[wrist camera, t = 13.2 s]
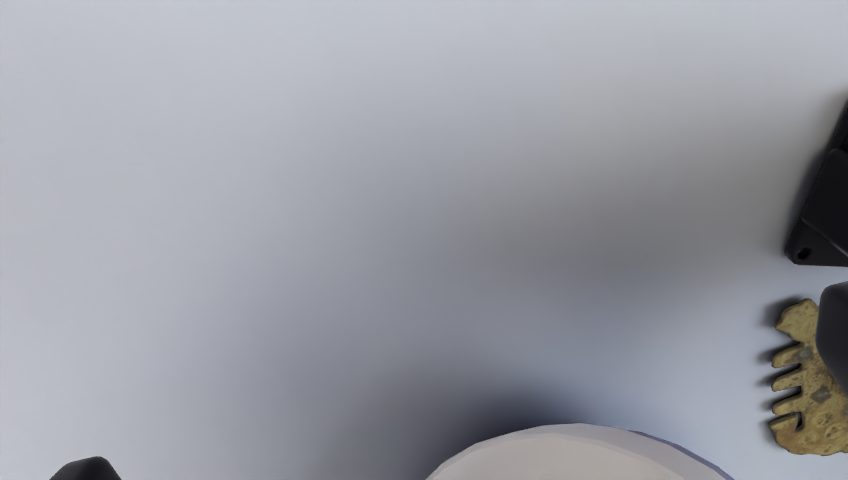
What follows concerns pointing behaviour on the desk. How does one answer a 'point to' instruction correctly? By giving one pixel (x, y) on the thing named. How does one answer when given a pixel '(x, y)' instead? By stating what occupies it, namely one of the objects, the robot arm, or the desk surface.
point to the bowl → (577, 457)
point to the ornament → (808, 391)
